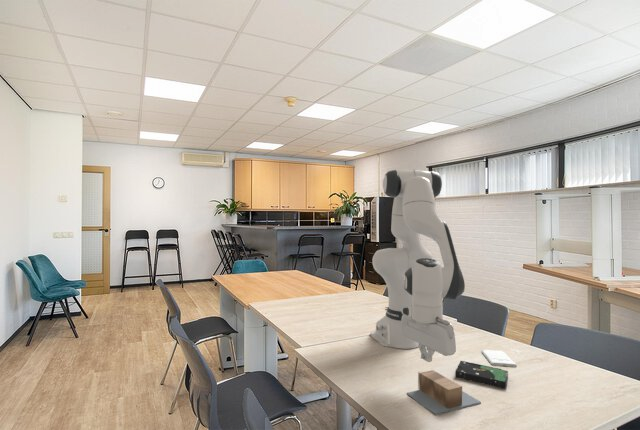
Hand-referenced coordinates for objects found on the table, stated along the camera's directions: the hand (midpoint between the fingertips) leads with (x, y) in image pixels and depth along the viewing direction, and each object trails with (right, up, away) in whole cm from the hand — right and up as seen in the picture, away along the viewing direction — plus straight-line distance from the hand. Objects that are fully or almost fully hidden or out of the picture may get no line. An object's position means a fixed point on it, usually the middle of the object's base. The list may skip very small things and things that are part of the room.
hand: (426, 360), depth 106 cm
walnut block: (0, -6, +1) cm, 6 cm away
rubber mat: (+3, -9, -5) cm, 11 cm away
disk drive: (+21, -10, +10) cm, 25 cm away
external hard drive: (+34, -11, +25) cm, 44 cm away
